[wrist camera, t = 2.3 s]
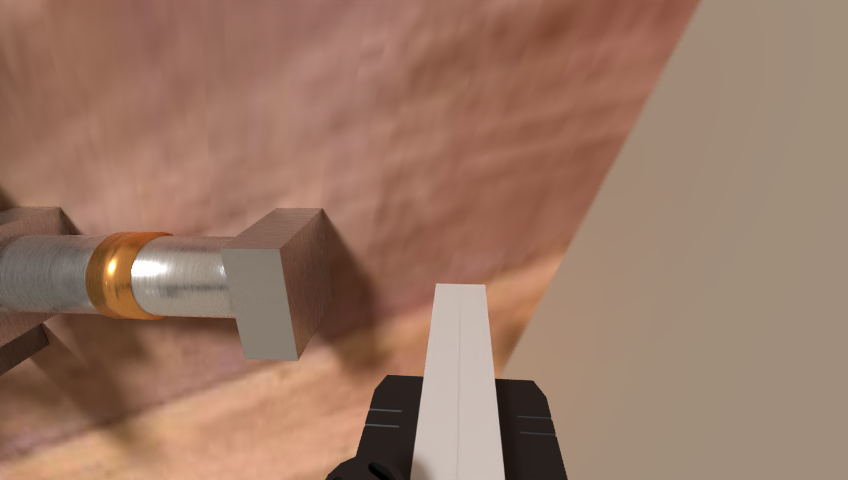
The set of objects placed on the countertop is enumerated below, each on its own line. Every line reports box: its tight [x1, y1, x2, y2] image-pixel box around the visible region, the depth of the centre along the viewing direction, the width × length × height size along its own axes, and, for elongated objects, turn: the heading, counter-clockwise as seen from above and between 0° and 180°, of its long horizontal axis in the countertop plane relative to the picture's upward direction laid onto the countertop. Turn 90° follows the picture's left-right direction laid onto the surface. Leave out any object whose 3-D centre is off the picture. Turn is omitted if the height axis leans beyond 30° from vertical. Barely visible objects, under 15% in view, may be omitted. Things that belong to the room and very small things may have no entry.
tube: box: [0, 207, 333, 361], centre depth 16 cm, size 14×4×4 cm, turn 91°
